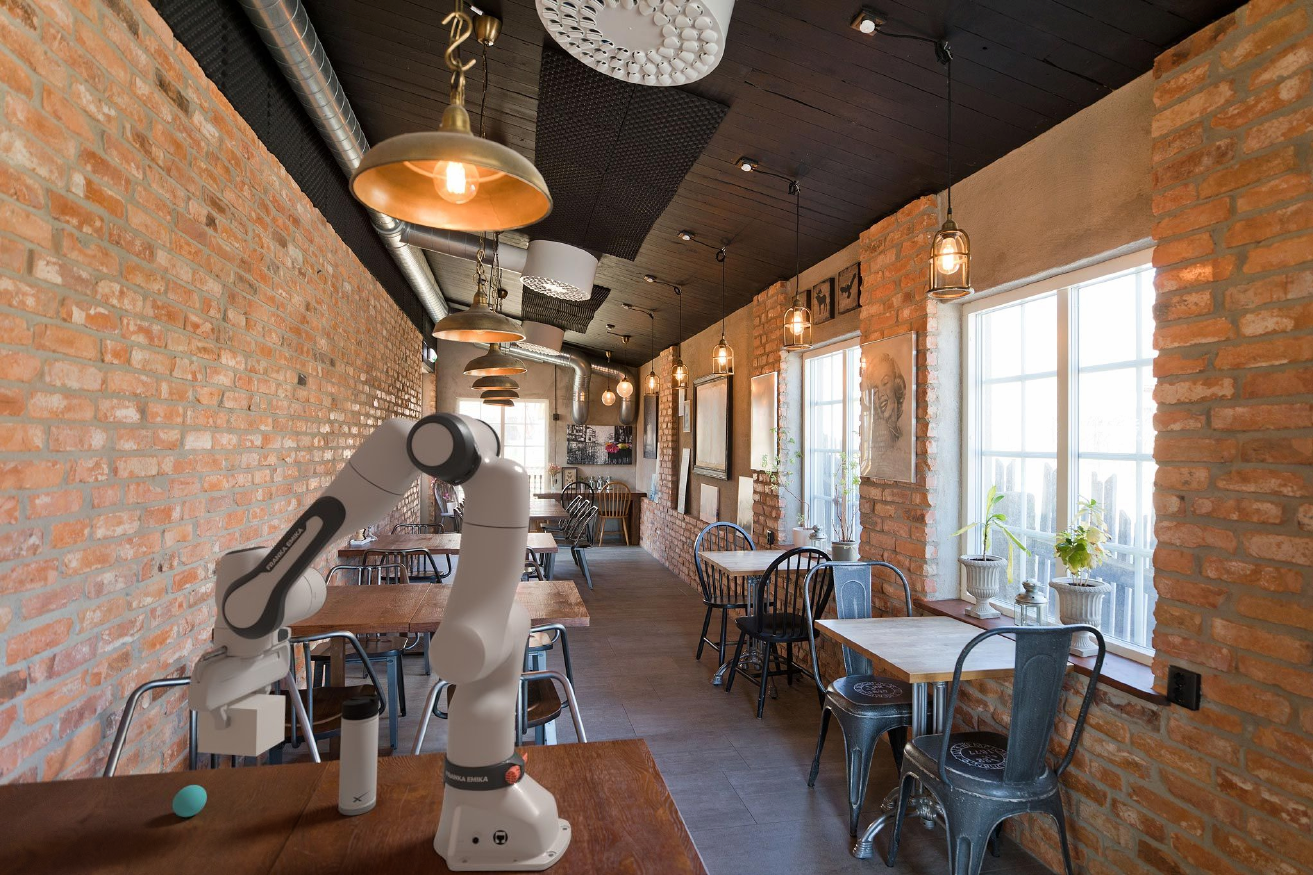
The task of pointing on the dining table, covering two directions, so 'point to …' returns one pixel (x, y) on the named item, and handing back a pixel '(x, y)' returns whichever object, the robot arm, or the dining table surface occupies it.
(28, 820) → the dining table surface
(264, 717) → the off-white rectangular block
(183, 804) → the ball
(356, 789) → the travel mug
